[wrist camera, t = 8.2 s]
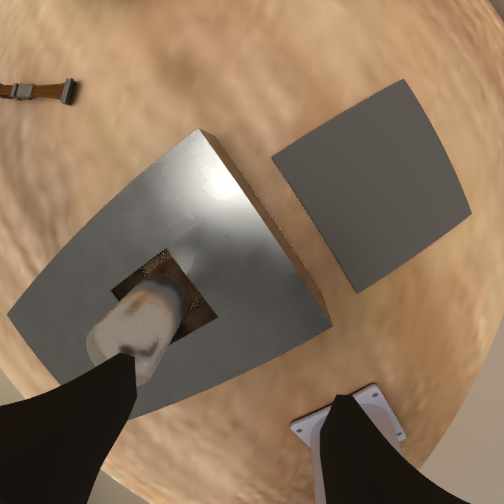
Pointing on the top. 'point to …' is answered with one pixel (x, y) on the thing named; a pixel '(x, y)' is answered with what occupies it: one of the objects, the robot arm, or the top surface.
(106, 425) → the robot arm
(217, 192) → the block
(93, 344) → the steel pin
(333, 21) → the top surface
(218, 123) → the top surface
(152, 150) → the top surface
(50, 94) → the wooden post with brackets
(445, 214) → the rubber mat
